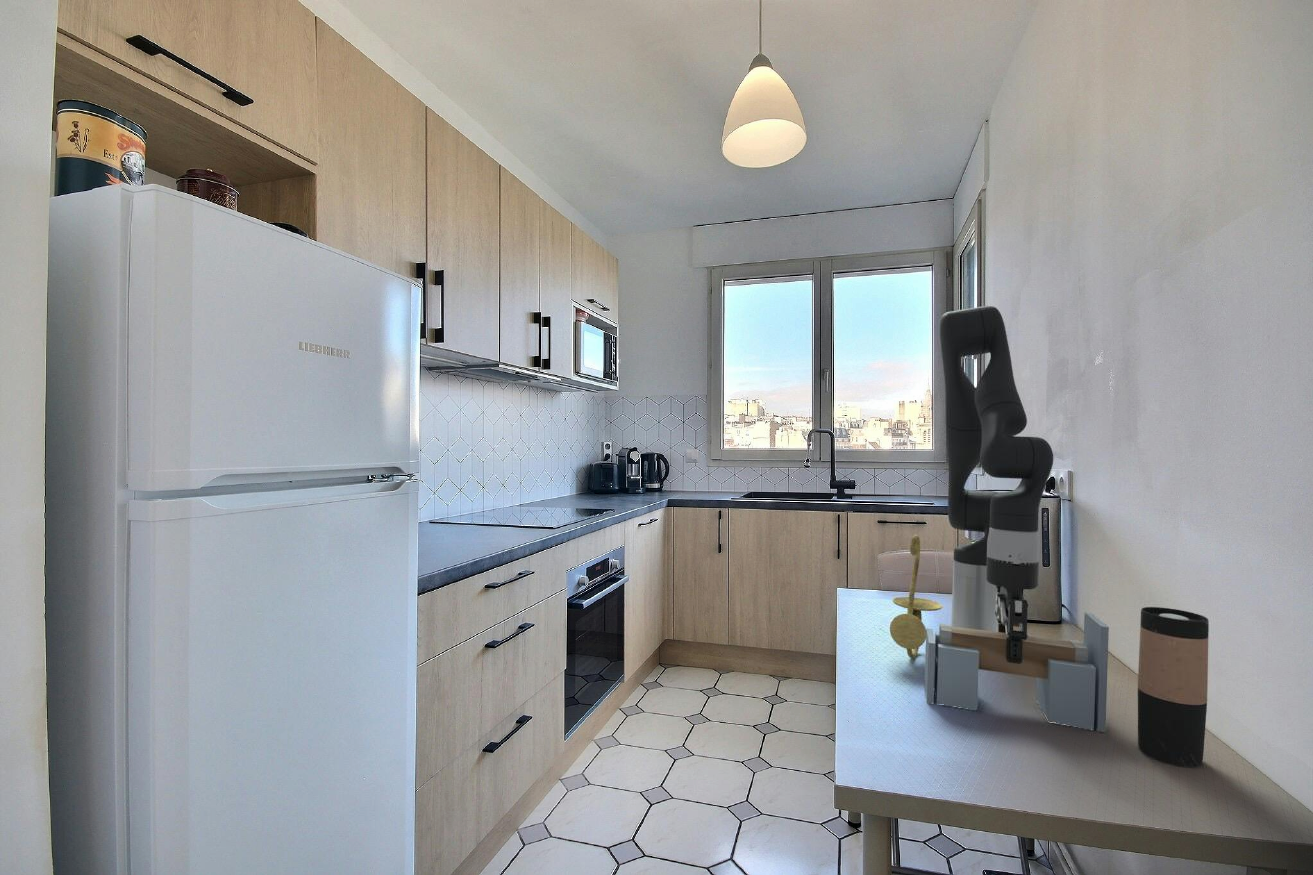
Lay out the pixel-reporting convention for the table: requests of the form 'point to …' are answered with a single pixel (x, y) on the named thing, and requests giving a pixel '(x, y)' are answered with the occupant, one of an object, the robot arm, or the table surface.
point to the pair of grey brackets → (1062, 696)
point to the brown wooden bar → (995, 650)
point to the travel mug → (1172, 685)
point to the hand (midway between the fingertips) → (1009, 654)
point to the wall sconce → (912, 611)
